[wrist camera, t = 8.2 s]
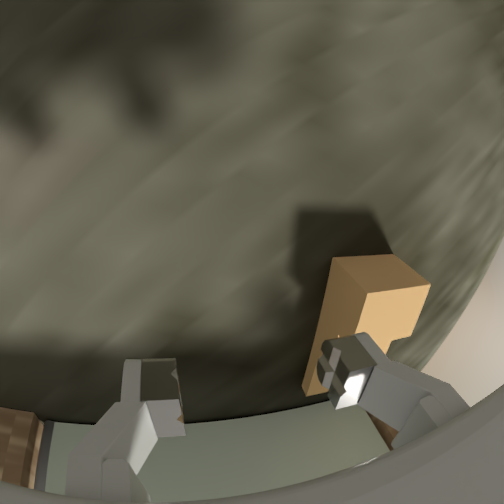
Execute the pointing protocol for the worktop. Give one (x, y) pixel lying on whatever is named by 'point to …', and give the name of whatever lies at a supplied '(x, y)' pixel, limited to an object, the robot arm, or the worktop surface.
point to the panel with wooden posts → (29, 437)
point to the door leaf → (232, 453)
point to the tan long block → (366, 305)
